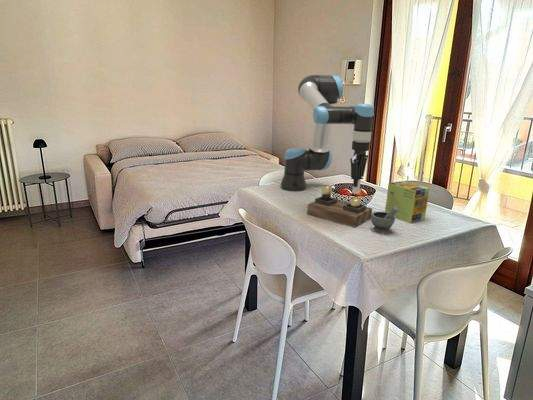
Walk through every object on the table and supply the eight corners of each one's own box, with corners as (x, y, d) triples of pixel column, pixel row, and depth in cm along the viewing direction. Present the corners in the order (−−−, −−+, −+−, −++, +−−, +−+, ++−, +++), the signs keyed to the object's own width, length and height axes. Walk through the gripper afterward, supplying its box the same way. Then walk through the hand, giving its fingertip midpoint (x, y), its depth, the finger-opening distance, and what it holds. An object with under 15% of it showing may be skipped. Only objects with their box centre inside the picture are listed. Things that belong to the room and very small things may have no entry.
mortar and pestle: (365, 229, 162) (368, 203, 159) (377, 224, 169) (380, 199, 165) (389, 237, 155) (392, 209, 151) (400, 232, 161) (404, 205, 157)
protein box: (411, 223, 171) (416, 190, 167) (384, 213, 183) (388, 182, 179) (425, 219, 177) (430, 187, 172) (398, 210, 189) (402, 180, 184)
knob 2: (352, 207, 175) (353, 197, 173) (361, 209, 172) (362, 199, 170) (347, 209, 171) (348, 199, 170) (356, 211, 169) (357, 201, 167)
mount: (324, 206, 191) (325, 193, 189) (371, 218, 176) (372, 204, 174) (307, 214, 179) (308, 200, 177) (355, 227, 164) (356, 212, 162)
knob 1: (324, 194, 183) (325, 184, 181) (332, 196, 180) (333, 186, 179) (319, 196, 179) (320, 186, 178) (328, 198, 177) (328, 187, 175)
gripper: (360, 138, 169) (354, 188, 177) (346, 141, 160) (341, 194, 167) (376, 140, 165) (369, 191, 172) (362, 143, 155) (356, 198, 163)
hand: (355, 193), depth 170 cm, fingers closed
